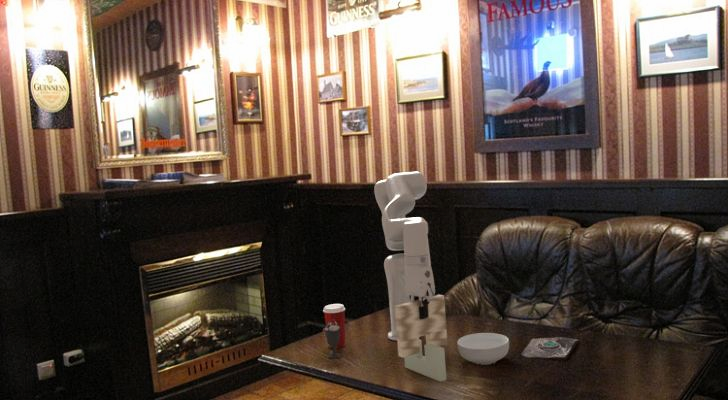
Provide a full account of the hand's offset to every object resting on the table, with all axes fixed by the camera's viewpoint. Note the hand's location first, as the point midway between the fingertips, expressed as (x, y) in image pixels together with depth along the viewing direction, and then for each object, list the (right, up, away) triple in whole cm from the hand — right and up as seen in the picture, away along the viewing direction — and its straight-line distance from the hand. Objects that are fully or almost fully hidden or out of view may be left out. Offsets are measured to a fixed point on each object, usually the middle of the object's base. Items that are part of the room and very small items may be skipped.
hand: (421, 316), depth 208 cm
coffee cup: (-28, -18, +37) cm, 50 cm away
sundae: (-28, -19, +25) cm, 42 cm away
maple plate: (+1, -11, +1) cm, 11 cm away
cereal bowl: (+22, -16, +9) cm, 29 cm away
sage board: (+1, -18, +2) cm, 18 cm away
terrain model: (+45, -14, +16) cm, 50 cm away
